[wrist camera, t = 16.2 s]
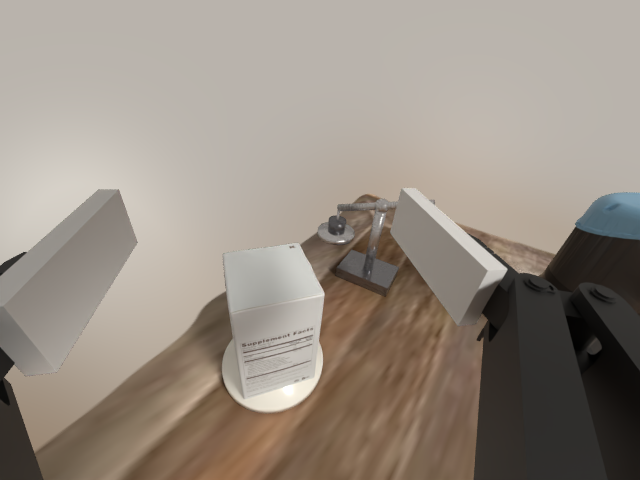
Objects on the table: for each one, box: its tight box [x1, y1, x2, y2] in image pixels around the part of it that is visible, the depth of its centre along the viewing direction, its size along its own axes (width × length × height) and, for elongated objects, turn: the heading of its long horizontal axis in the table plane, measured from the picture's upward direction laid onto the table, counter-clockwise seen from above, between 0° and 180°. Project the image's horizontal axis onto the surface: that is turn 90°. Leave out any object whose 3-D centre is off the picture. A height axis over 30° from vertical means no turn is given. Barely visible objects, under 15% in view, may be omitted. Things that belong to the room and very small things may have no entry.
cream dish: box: [222, 339, 323, 414], centre depth 37 cm, size 13×13×1 cm
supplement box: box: [223, 243, 324, 399], centre depth 32 cm, size 9×9×15 cm
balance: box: [317, 199, 435, 297], centre depth 48 cm, size 22×7×18 cm, turn 61°
